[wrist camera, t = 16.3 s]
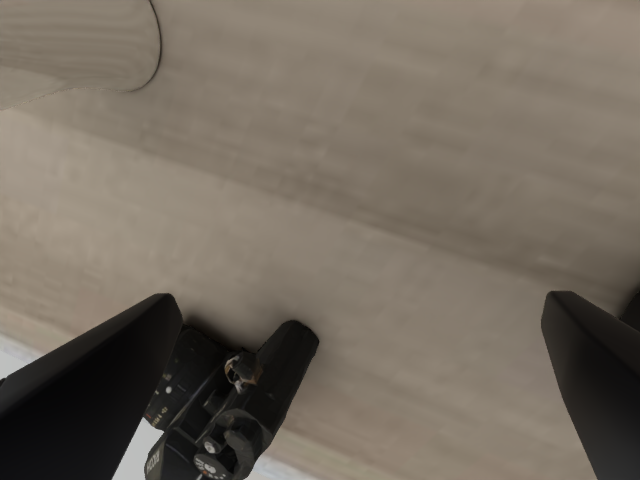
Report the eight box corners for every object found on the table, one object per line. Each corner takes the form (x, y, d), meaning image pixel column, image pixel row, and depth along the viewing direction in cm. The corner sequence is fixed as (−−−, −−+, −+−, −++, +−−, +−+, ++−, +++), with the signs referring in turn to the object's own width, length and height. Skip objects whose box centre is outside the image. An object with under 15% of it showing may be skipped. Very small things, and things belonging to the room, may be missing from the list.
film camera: (169, 245, 25) (33, 342, 17) (330, 313, 24) (268, 457, 15) (164, 393, 35) (75, 503, 26) (280, 449, 33) (224, 585, 25)
